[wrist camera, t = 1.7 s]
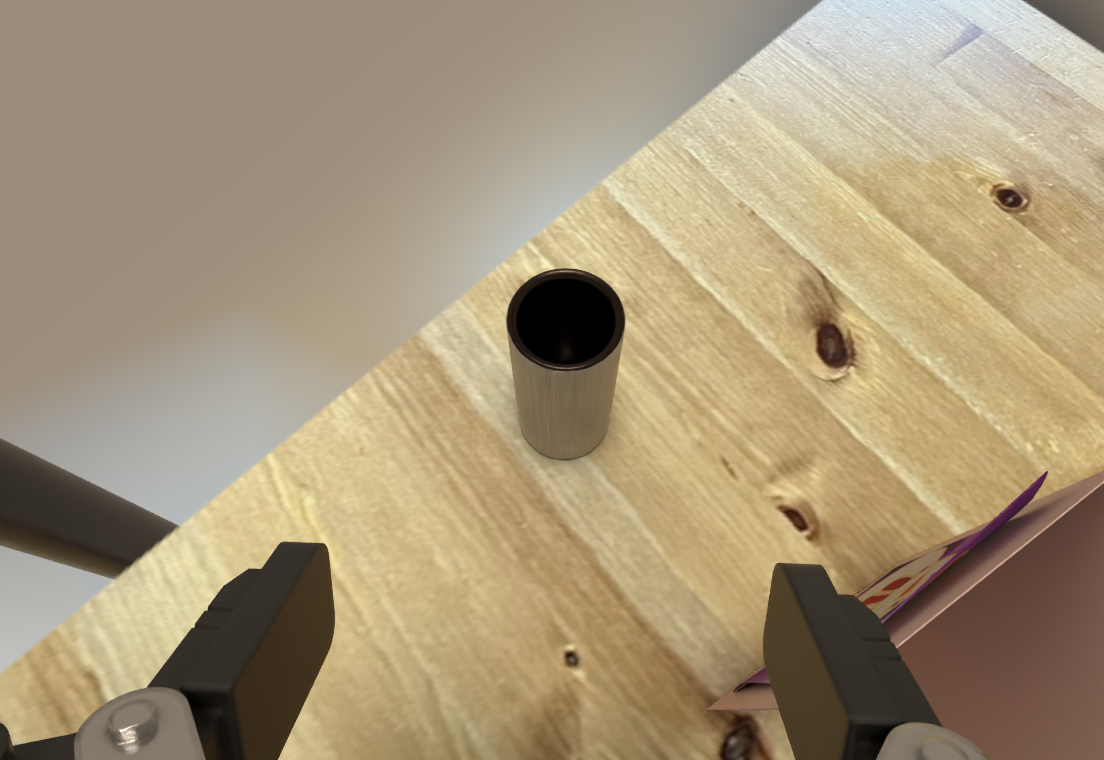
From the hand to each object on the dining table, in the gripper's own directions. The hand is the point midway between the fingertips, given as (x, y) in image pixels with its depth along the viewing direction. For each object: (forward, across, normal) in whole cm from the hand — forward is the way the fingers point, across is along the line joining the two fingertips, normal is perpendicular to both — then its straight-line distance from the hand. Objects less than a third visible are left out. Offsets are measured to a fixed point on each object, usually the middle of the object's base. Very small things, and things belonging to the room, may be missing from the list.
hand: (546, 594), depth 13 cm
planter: (+23, 0, +6) cm, 24 cm away
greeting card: (+14, -13, +15) cm, 25 cm away
